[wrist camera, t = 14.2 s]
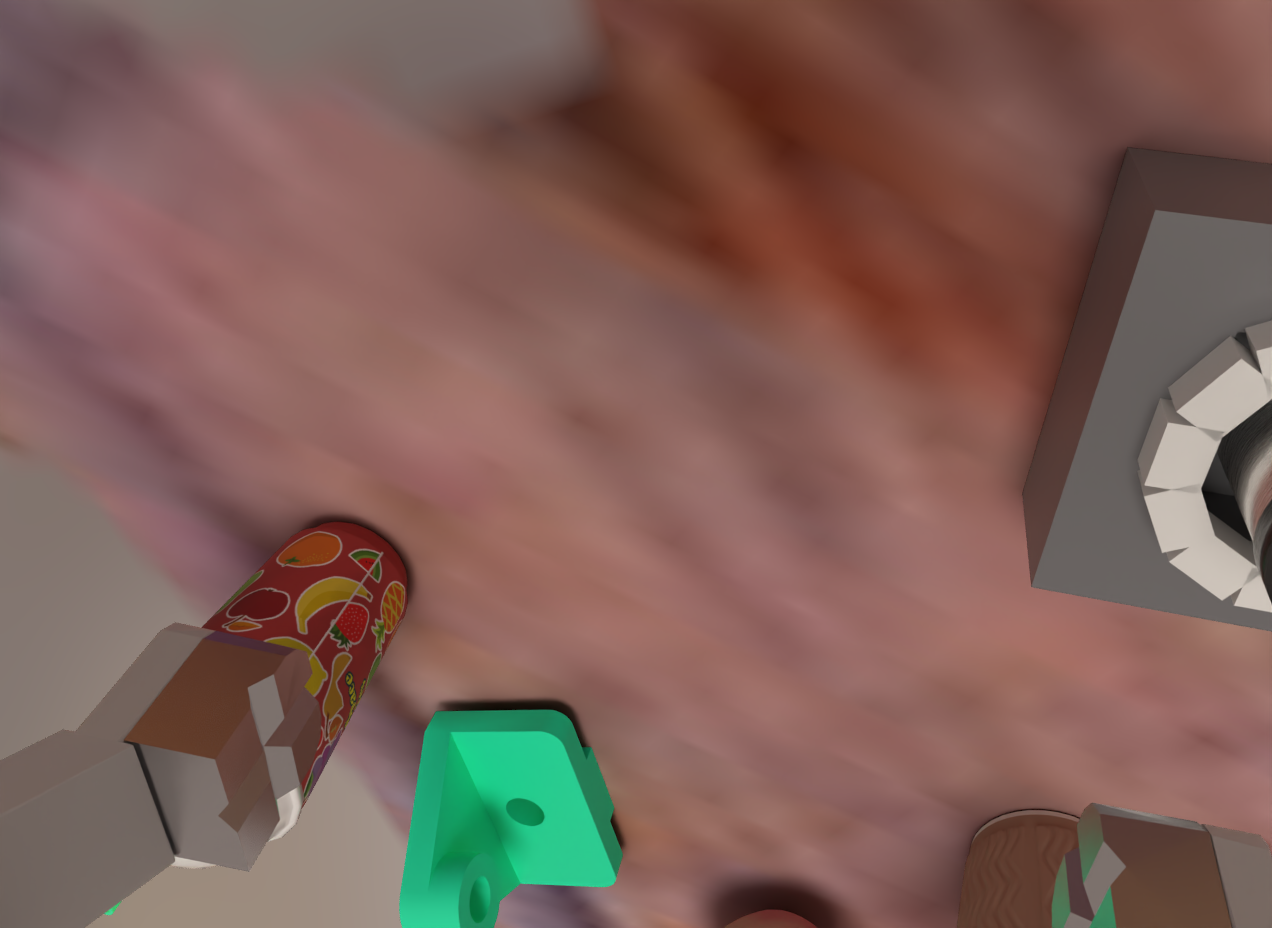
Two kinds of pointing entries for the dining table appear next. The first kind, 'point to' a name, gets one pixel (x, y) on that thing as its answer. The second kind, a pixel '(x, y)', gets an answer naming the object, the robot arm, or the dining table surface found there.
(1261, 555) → the lens
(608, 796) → the camera mount
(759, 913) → the decorative fruit
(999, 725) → the dining table surface
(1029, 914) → the coffee cup
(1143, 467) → the camera body
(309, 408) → the dining table surface
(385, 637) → the smoothie
